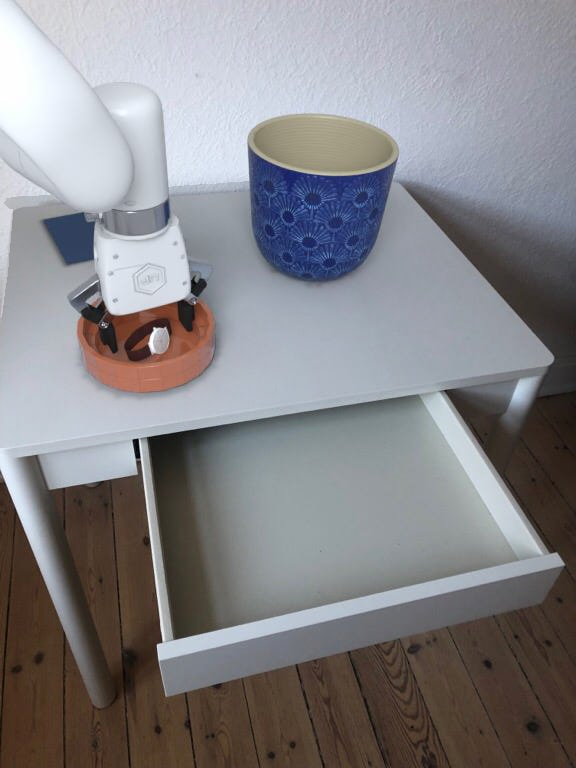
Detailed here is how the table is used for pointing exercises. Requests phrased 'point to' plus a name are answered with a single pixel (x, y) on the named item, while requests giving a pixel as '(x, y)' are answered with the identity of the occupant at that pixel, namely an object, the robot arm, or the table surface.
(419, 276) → the table surface
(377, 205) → the planter
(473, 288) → the table surface
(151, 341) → the watch
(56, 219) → the mat
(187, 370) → the bowl
